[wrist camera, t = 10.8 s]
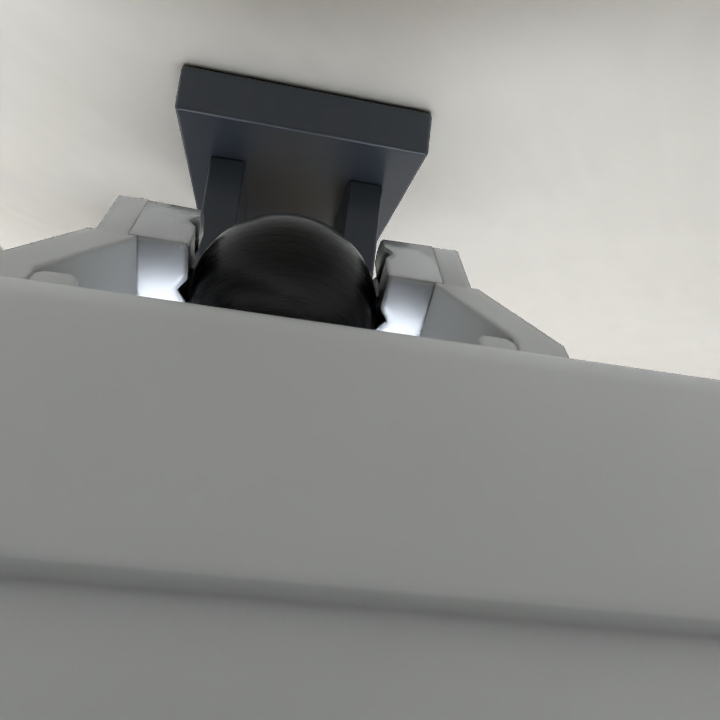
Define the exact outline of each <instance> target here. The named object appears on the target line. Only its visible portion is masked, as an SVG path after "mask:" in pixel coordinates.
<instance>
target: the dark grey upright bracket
mask: <svg viewBox="0 0 720 720" xmlns="http://www.w3.org/2000/svg"><path fill="white" fill-rule="evenodd" d="M175 108H176V113H177V118H178V122H179V127H180V131H181V136H182V140H183V145H184V150H185V154H186V159H187V163H188V168H189V172H190V177H191V182H192V186H193V191H194V195H195V200H196V204H197V209H198V210H203V211H204V234H203V237H202V240H201V243H200V246H199V249H198V250H199V252H200V253H201V255H202V254H203V253H204V251H205V250H206V249H207V247H208V246H209V245H210V244H211V243H212V242H213V241H214V240H215V239H216V238H217V237H218V236H219V235H220V234H221V233H223V232H224V231H226V230H227V229H229V228H230V227H232V226H233V225H235V224H237V223H239V222H241V221H243V220H245V219H248V218H251V217H254V216H258V215H263V214H268V213H294V214H300V215H305V216H308V217H311V218H314V219H317V220H319V221H321V222H323V223H325V224H327V225H329V226H330V227H332V228H334V229H335V230H337V231H338V232H340V233H341V234H342V235H343V236H345V237H346V238H347V239H348V240H349V241H350V242H351V243H352V244H353V246H354V247H355V248H356V249H357V250H358V252H359V253H360V254H361V256H362V258H363V259H364V261H365V263H366V265H367V267H368V269H369V271H370V273H371V276H372V278H373V270H374V261H375V252H376V243H377V240H378V239H379V237H380V235H381V234H382V232H383V230H384V228H385V227H386V225H387V223H388V221H389V220H390V218H391V216H392V214H393V213H394V211H395V209H396V208H397V206H398V204H399V202H400V201H401V199H402V197H403V195H404V194H405V192H406V190H407V189H408V187H409V185H410V183H411V182H412V180H413V178H414V176H415V175H416V173H417V171H418V170H419V168H420V166H421V164H422V163H423V161H424V159H425V157H426V156H427V154H428V149H429V139H430V129H431V120H432V117H431V114H429V113H425V112H420V111H415V110H409V109H404V108H399V107H394V106H389V105H384V104H379V103H373V102H368V101H363V100H358V99H353V98H348V97H343V96H337V95H332V94H327V93H322V92H317V91H312V90H306V89H301V88H296V87H291V86H286V85H281V84H276V83H270V82H265V81H260V80H255V79H250V78H245V77H240V76H234V75H229V74H224V73H219V72H214V71H209V70H203V69H198V68H193V67H188V66H183V67H182V69H181V74H180V80H179V86H178V91H177V97H176V103H175Z"/></svg>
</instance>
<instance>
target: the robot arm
mask: <svg viewBox="0 0 720 720" xmlns="http://www.w3.org/2000/svg"><path fill="white" fill-rule="evenodd" d="M203 234H204V211H203V210H197V209H192V208H186V207H181V206H175V205H170V204H164V203H159V202H153V201H149V200H148V199H141V198H134V197H127V196H119V197H118V198H117V199H116V201H115V202H114V204H113V205H112V207H111V208H110V209H109V211H108V212H107V214H106V215H105V217H104V218H103V219H102V221H101V222H100V224H99V225H98V227H97V228H96V229H92V228H85V229H81V230H78V231H74V232H70V233H67V234H63V235H59V236H56V237H52V238H48V239H44V240H41V241H37V242H33V243H30V244H26V245H22V246H19V247H15V248H11V249H7V250H4V251H0V720H720V380H716V379H709V378H702V377H695V376H688V375H681V374H674V373H667V372H661V371H654V370H647V369H640V368H633V367H626V366H619V365H612V364H606V363H599V362H592V361H585V360H578V359H571V358H569V356H568V354H567V352H566V350H565V348H564V346H562V345H561V344H559V343H558V342H556V341H555V340H553V339H552V338H550V337H549V336H547V335H546V334H544V333H543V332H541V331H540V330H538V329H537V328H535V327H534V326H532V325H531V324H529V323H528V322H526V321H525V320H523V319H522V318H520V317H519V316H517V315H516V314H514V313H513V312H511V311H510V310H508V309H507V308H505V307H504V306H502V305H501V304H499V303H498V302H496V301H495V300H493V299H492V298H490V297H489V296H487V295H486V294H484V293H483V292H481V291H480V290H478V289H473V288H471V286H470V284H469V281H468V278H467V275H466V273H465V270H464V267H463V265H462V262H461V259H460V257H459V254H458V252H457V251H455V250H448V249H440V248H432V247H431V246H424V245H417V244H410V243H403V242H396V241H389V240H382V241H381V242H380V245H379V248H378V252H377V256H376V260H375V267H376V276H377V277H376V278H374V279H373V282H374V286H375V290H376V296H377V321H376V325H375V330H372V329H365V328H358V327H351V326H344V325H337V324H330V323H323V322H316V321H309V320H303V319H296V318H289V317H282V316H275V315H268V314H261V313H254V312H247V311H240V310H233V309H227V308H220V307H213V306H206V305H199V304H192V303H187V299H188V287H189V283H190V280H191V276H192V274H193V271H194V268H195V267H196V265H197V263H198V261H199V259H200V257H201V256H202V255H201V253H200V252H199V250H198V249H199V246H200V243H201V240H202V237H203Z"/></svg>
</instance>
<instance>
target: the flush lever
mask: <svg viewBox="0 0 720 720" xmlns="http://www.w3.org/2000/svg"><path fill="white" fill-rule="evenodd" d="M187 303H192V304H199V305H206V306H213V307H220V308H227V309H233V310H240V311H247V312H254V313H261V314H268V315H275V316H282V317H289V318H296V319H303V320H309V321H316V322H323V323H330V324H337V325H344V326H351V327H358V328H365V329H372V330H375V325H376V321H377V296H376V290H375V286H374V282H373V279H372V276H371V273H370V271H369V269H368V267H367V265H366V263H365V261H364V259H363V258H362V256H361V254H360V253H359V252H358V250H357V249H356V248H355V247H354V246H353V244H352V243H351V242H350V241H349V240H348V239H347V238H346V237H345V236H343V235H342V234H341V233H340V232H338V231H337V230H335V229H334V228H332V227H330V226H329V225H327V224H325V223H323V222H321V221H319V220H317V219H314V218H311V217H308V216H305V215H300V214H294V213H268V214H263V215H258V216H254V217H251V218H248V219H245V220H243V221H241V222H239V223H237V224H235V225H233V226H232V227H230V228H229V229H227V230H226V231H224V232H223V233H221V234H220V235H219V236H218V237H217V238H216V239H215V240H214V241H213V242H212V243H211V244H210V245H209V246H208V247H207V249H206V250H205V251H204V253H203V254H202V256H201V257H200V259H199V261H198V263H197V265H196V267H195V268H194V271H193V274H192V276H191V280H190V283H189V287H188V299H187Z"/></svg>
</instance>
